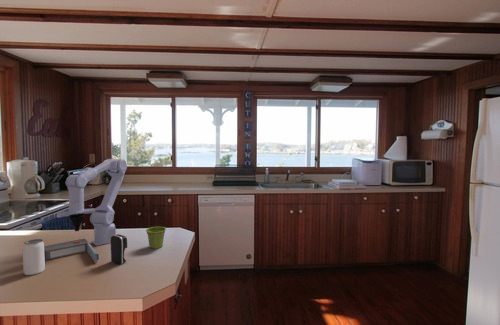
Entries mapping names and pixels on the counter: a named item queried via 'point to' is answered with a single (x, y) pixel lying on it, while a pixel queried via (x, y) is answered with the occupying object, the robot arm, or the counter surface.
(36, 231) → the counter surface
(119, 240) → the battery charger
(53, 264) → the counter surface
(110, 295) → the counter surface
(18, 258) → the counter surface
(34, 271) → the can
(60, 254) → the grey rectangular box
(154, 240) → the plant pot
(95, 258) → the grey bar handle
